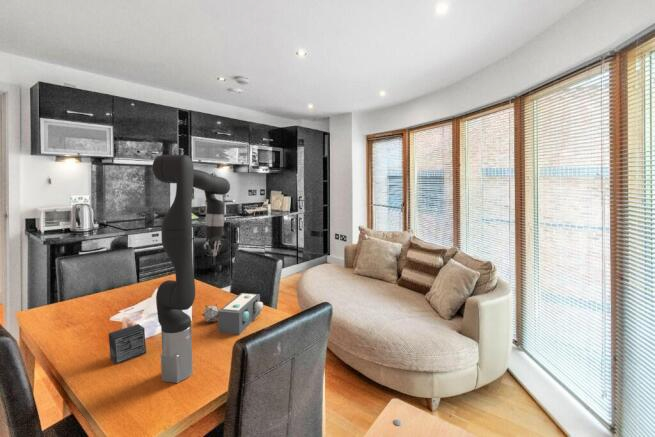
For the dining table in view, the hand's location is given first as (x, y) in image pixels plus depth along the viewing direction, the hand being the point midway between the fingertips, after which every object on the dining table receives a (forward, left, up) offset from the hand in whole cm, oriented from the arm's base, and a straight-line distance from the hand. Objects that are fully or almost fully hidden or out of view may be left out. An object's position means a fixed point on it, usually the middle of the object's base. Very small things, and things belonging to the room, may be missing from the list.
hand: (211, 264), depth 136 cm
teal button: (+8, -11, -28) cm, 31 cm away
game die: (+12, +8, -32) cm, 35 cm away
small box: (-22, +23, -32) cm, 45 cm away
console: (+14, -6, -31) cm, 35 cm away
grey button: (+20, -13, -28) cm, 36 cm away
